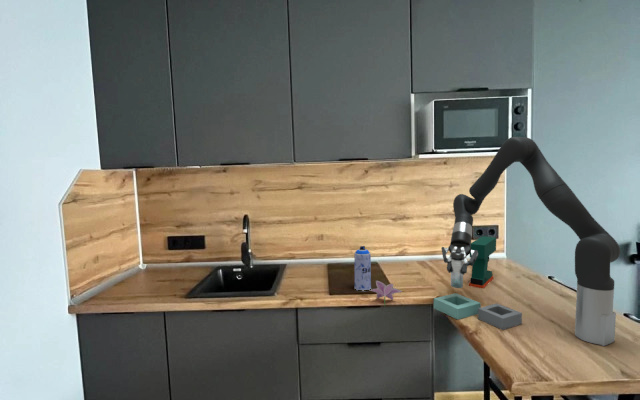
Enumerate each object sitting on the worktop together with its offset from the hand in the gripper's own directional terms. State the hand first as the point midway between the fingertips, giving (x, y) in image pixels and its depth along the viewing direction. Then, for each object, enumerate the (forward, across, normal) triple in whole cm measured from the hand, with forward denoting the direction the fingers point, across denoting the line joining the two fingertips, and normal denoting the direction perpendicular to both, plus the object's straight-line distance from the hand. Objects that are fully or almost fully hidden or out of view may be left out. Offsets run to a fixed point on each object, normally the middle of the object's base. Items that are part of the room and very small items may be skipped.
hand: (456, 272), depth 132 cm
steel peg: (+3, 0, +6) cm, 6 cm away
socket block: (+12, +15, +10) cm, 22 cm away
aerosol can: (+5, -42, +18) cm, 46 cm away
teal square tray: (+10, 0, +12) cm, 16 cm away
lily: (+13, -27, +10) cm, 32 cm away
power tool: (-24, +6, +47) cm, 53 cm away
